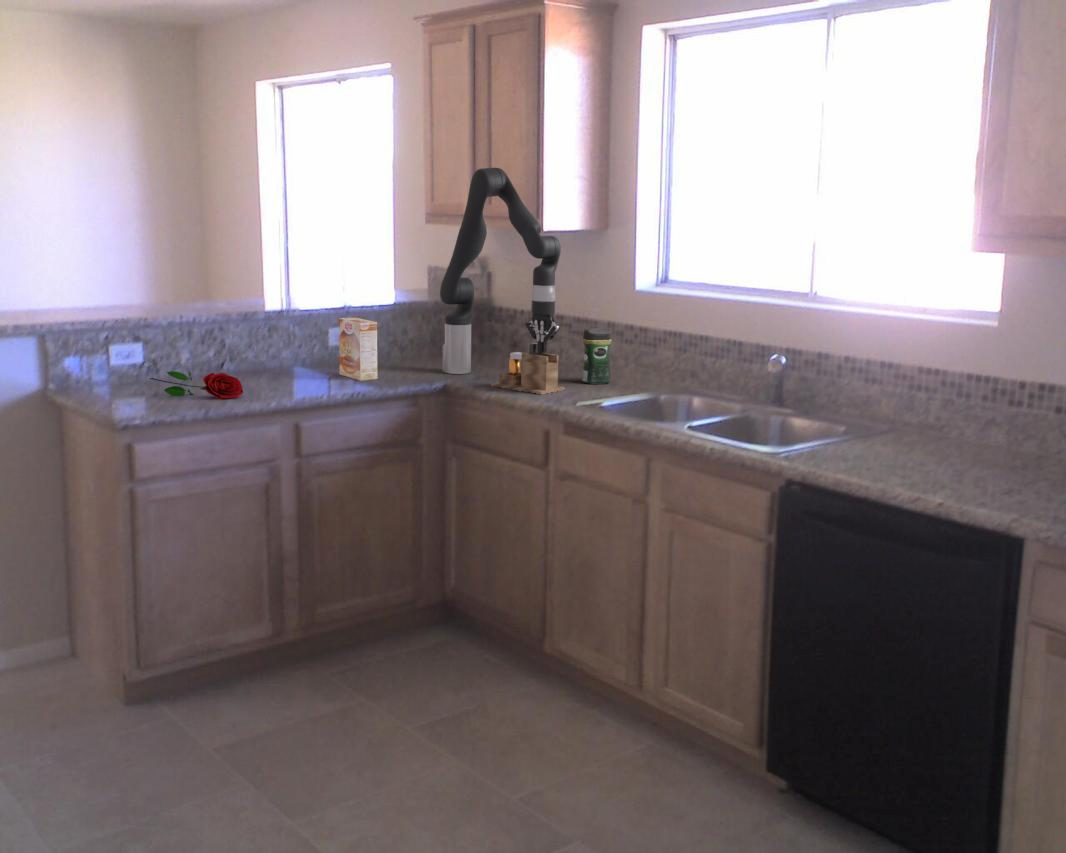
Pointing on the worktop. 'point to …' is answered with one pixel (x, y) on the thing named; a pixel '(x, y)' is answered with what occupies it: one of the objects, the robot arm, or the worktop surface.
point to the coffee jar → (596, 356)
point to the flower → (208, 385)
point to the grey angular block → (532, 350)
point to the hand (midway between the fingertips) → (542, 352)
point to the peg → (514, 366)
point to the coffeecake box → (358, 348)
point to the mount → (534, 375)
